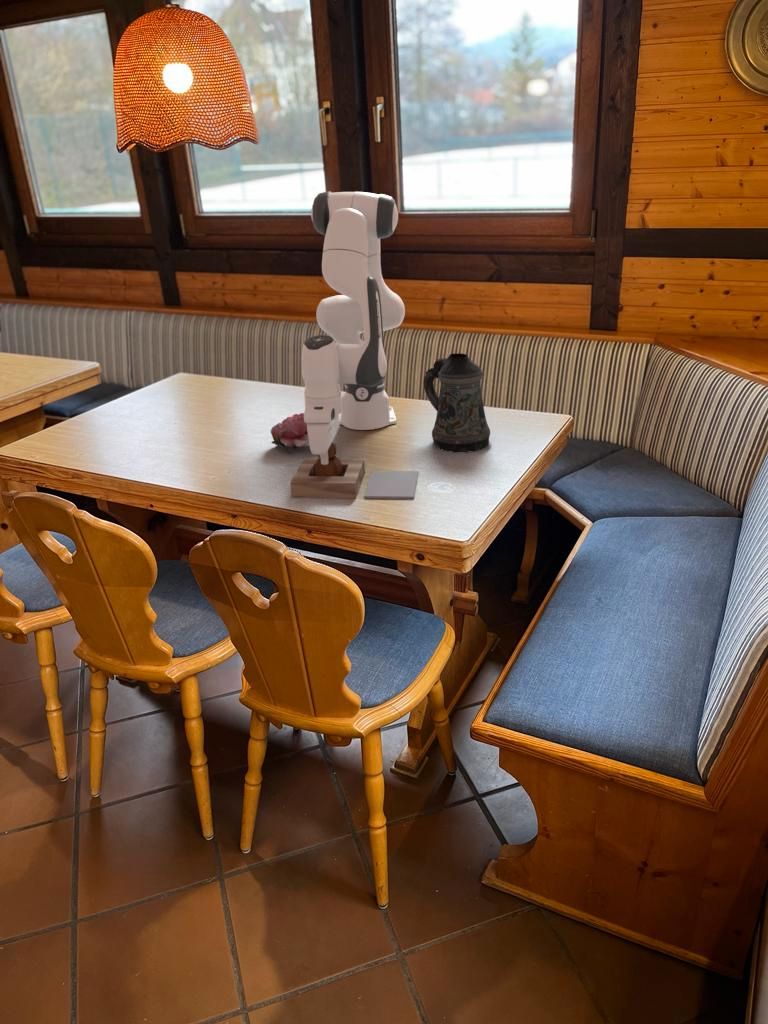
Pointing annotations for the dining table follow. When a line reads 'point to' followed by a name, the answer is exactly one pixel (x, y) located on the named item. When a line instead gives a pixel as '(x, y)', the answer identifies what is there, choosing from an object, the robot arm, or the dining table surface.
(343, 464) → the walnut socket block
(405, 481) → the slate mat
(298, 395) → the dining table surface
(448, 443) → the beer stein
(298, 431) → the flower
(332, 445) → the wooden figurine
